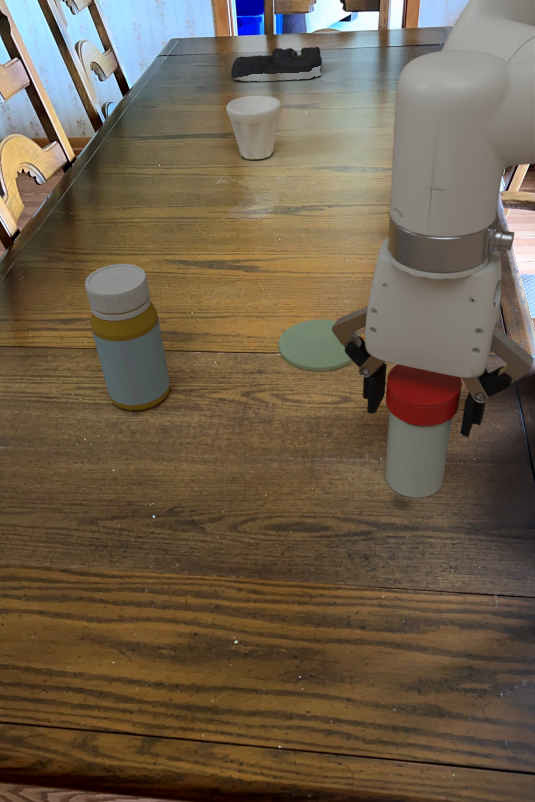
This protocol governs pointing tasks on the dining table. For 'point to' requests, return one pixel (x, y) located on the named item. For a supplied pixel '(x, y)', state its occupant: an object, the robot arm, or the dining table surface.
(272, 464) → the dining table surface
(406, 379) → the cap
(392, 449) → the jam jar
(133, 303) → the bottle
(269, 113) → the cup
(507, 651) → the dining table surface
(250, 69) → the black sneaker
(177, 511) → the dining table surface
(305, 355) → the coaster
